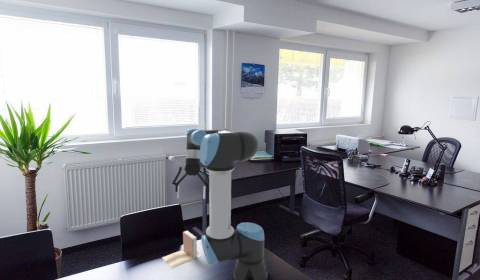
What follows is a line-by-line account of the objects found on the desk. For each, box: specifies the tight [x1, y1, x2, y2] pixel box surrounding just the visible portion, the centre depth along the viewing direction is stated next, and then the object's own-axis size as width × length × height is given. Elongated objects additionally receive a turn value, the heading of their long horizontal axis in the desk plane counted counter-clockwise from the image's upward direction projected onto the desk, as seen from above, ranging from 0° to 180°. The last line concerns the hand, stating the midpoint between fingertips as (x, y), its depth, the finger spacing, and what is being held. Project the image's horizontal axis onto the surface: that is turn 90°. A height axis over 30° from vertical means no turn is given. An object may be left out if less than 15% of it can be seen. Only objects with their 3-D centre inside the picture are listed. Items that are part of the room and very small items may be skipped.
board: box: [161, 248, 203, 269], centre depth 145 cm, size 11×16×1 cm
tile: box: [182, 230, 198, 258], centre depth 147 cm, size 9×2×10 cm, turn 39°
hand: (191, 198), depth 157 cm, fingers open, 13 cm apart
